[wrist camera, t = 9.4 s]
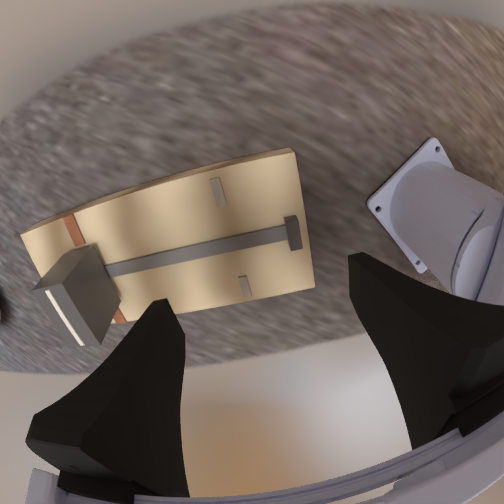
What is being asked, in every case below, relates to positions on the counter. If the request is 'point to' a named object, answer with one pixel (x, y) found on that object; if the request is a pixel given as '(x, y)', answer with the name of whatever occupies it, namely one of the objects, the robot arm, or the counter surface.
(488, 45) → the counter surface
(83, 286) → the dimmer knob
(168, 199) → the slider panel
